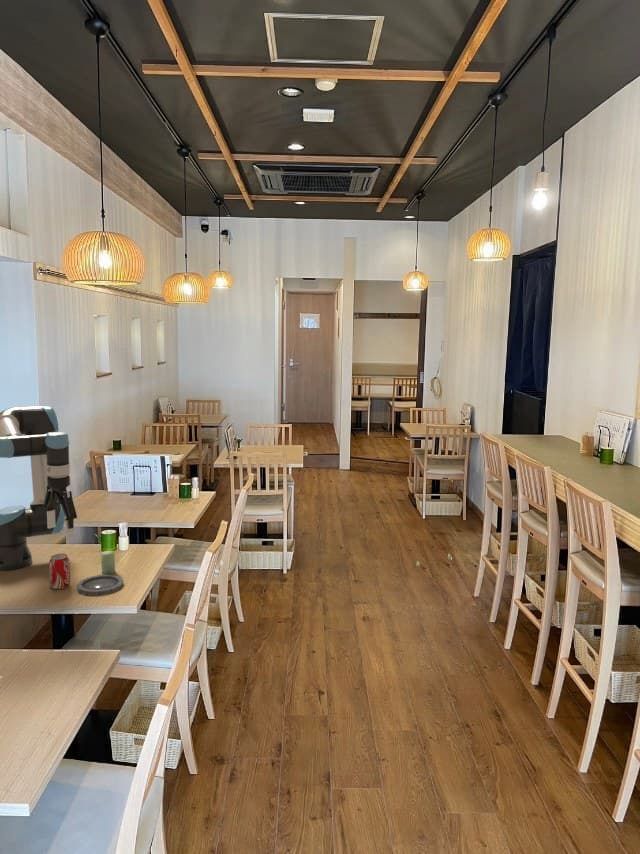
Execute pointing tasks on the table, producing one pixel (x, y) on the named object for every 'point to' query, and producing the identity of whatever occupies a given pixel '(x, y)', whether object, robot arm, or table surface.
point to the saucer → (100, 584)
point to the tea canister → (108, 562)
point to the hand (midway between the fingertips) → (60, 532)
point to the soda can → (59, 571)
